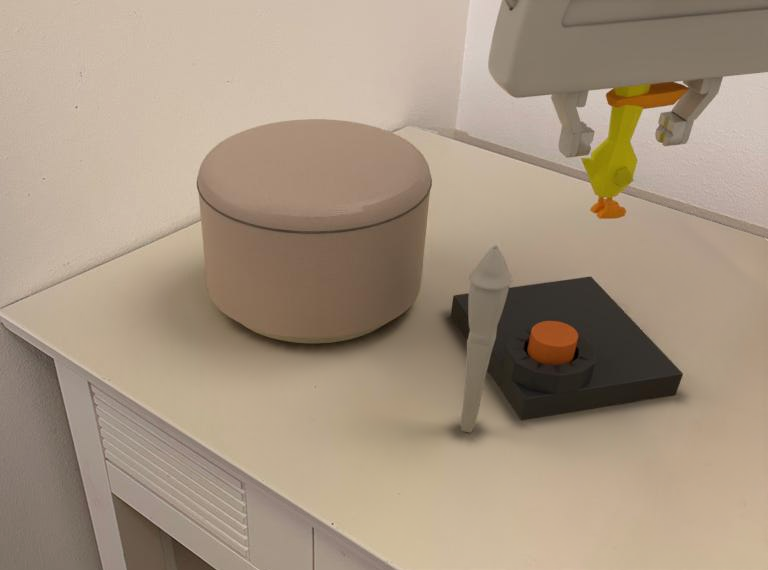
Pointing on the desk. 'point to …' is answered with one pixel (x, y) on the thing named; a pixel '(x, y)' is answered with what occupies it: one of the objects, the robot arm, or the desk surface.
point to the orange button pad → (592, 354)
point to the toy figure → (623, 142)
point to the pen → (483, 327)
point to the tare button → (552, 343)
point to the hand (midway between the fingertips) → (622, 148)
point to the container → (314, 228)
